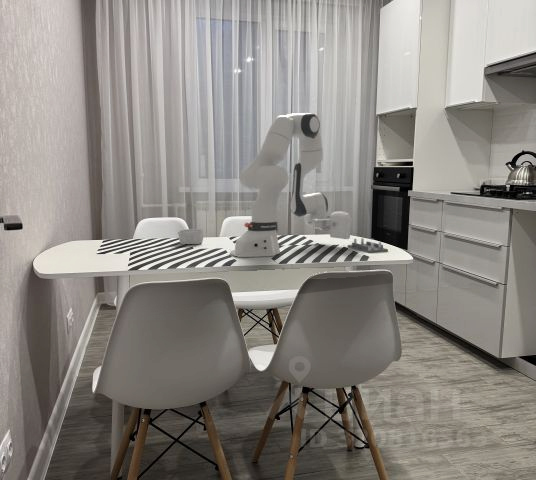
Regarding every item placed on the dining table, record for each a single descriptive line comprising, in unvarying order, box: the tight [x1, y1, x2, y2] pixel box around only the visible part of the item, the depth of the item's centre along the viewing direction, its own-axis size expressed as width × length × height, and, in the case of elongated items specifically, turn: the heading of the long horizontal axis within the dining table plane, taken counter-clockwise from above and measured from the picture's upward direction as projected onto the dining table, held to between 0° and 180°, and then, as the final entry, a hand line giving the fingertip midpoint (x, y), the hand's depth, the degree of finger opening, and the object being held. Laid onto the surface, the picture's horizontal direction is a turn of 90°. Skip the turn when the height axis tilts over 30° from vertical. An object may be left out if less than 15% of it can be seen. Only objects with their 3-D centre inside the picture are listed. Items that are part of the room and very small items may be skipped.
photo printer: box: [329, 210, 352, 240], centre depth 216 cm, size 10×4×12 cm, turn 39°
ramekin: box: [177, 228, 205, 245], centre depth 241 cm, size 13×13×7 cm
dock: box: [347, 237, 389, 254], centre depth 219 cm, size 10×18×4 cm, turn 22°
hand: (339, 224), depth 216 cm, fingers closed on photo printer, 5 cm apart
